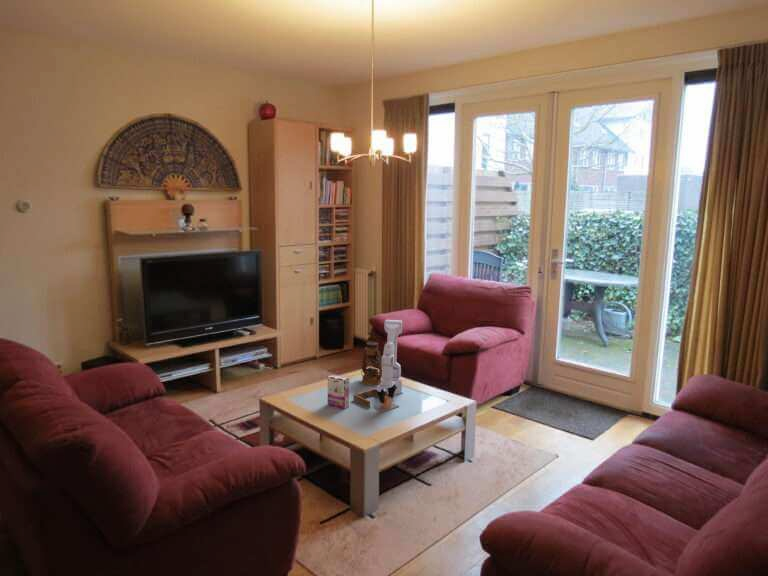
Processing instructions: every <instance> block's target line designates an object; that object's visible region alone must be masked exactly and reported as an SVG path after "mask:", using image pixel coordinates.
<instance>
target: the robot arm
mask: <svg viewBox="0 0 768 576" xmlns="http://www.w3.org/2000/svg"><path fill="white" fill-rule="evenodd" d="M383 328H384V329H383V330H384V331H385V333H387V341H386V343H385V344H384V347H383V353H382V354H383V355H381V365H382V377H381V381H382V383H380V385H378V387H377V388H376V389H377V390H376V392H377V393H378V396H379V397H378V396H377V397H378V399H379V403H380V404H381V403H384V400H385V395H386V393H387V394H388V395H389V397H391V400H393V398H394V396H397V395H400V394H402V393H403V390H402V389H403V381H402V378H401V375H402V368H401V367H402V366H401V364H400V363H398V362H397V358H398V357H397V355H398V354H397V353H398V351H397V350H398V337H399V335H400V334H402V332H403V320H402V319H400V320H398V319H397V320H396V319H385V320H384V327H383Z"/></svg>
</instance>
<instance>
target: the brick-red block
mask: <svg viewBox="0 0 768 576" xmlns="http://www.w3.org/2000/svg"><path fill="white" fill-rule="evenodd" d="M391 403H392V399H391V397H388V396H385V400H384V403H381V402H380V405H381V407H384V408H389V407H391Z"/></svg>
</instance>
